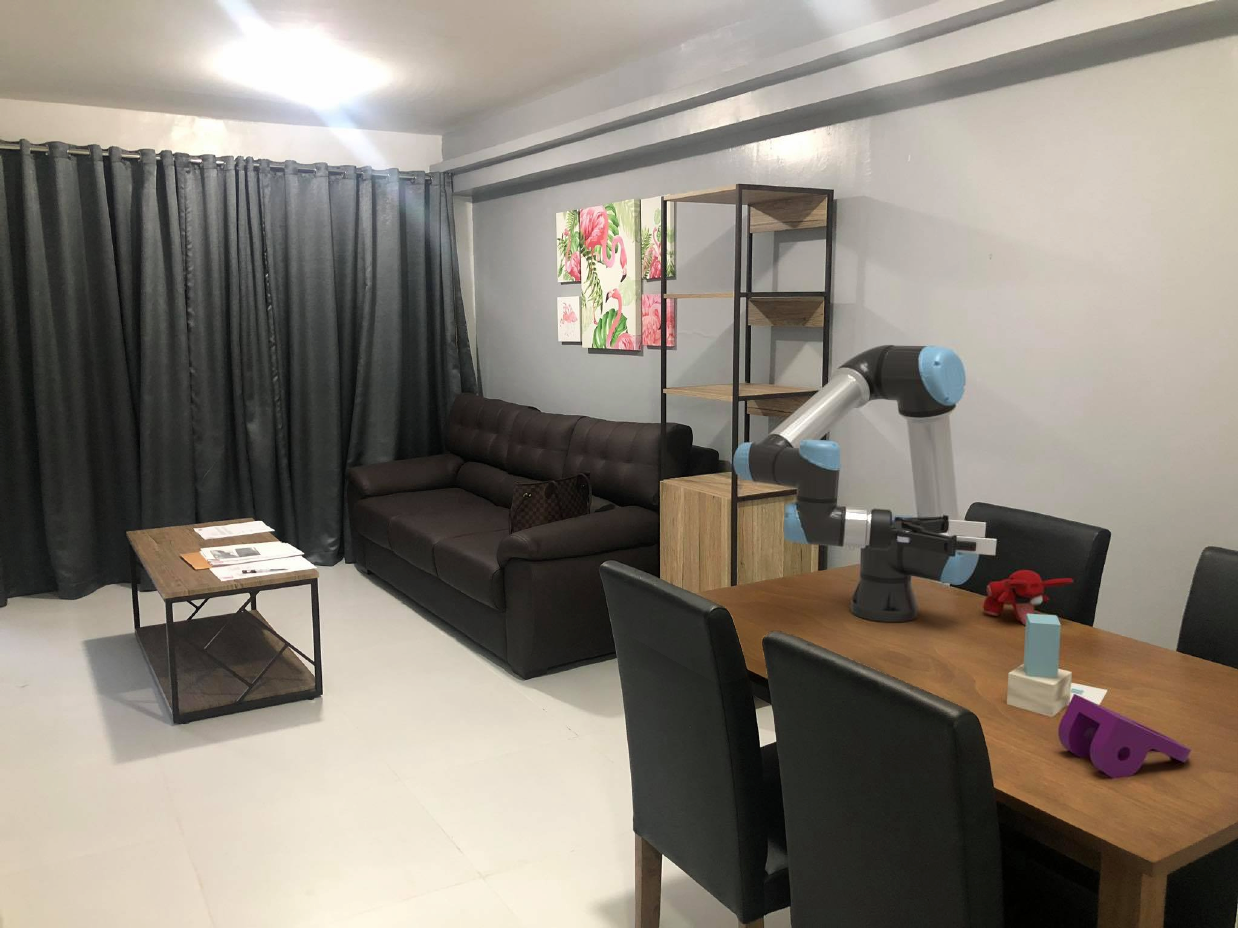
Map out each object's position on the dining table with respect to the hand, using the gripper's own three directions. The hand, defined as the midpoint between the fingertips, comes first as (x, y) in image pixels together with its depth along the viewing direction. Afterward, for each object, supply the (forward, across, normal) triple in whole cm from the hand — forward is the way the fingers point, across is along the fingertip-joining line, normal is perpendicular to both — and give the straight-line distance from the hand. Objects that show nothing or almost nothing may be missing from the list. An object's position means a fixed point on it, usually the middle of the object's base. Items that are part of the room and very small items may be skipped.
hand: (990, 538), depth 176 cm
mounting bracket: (+21, +22, -30) cm, 42 cm away
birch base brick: (+10, +2, -30) cm, 31 cm away
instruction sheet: (+18, -4, -29) cm, 35 cm away
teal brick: (+10, +2, -23) cm, 26 cm away
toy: (+16, -49, -30) cm, 60 cm away
